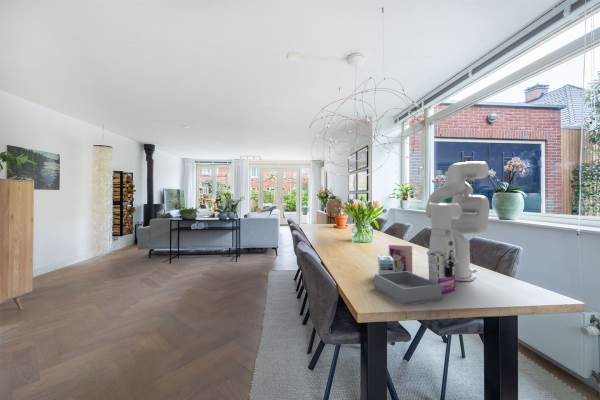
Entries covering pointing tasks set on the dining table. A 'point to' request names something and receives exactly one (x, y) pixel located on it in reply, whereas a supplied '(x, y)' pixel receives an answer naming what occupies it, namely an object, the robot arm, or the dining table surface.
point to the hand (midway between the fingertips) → (441, 273)
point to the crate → (408, 287)
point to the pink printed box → (401, 257)
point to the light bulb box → (385, 264)
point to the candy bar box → (440, 272)
